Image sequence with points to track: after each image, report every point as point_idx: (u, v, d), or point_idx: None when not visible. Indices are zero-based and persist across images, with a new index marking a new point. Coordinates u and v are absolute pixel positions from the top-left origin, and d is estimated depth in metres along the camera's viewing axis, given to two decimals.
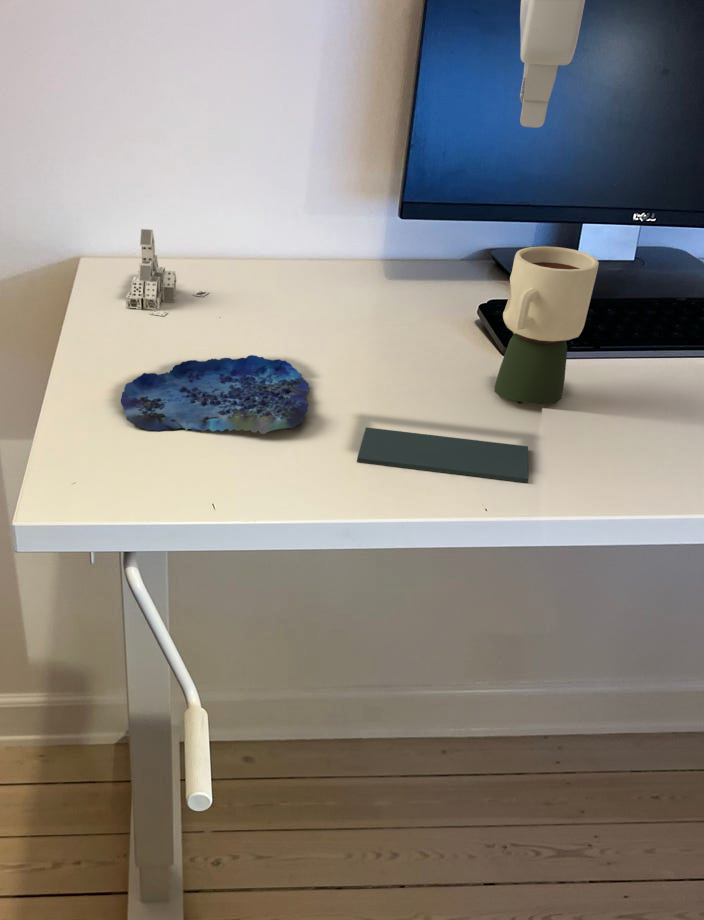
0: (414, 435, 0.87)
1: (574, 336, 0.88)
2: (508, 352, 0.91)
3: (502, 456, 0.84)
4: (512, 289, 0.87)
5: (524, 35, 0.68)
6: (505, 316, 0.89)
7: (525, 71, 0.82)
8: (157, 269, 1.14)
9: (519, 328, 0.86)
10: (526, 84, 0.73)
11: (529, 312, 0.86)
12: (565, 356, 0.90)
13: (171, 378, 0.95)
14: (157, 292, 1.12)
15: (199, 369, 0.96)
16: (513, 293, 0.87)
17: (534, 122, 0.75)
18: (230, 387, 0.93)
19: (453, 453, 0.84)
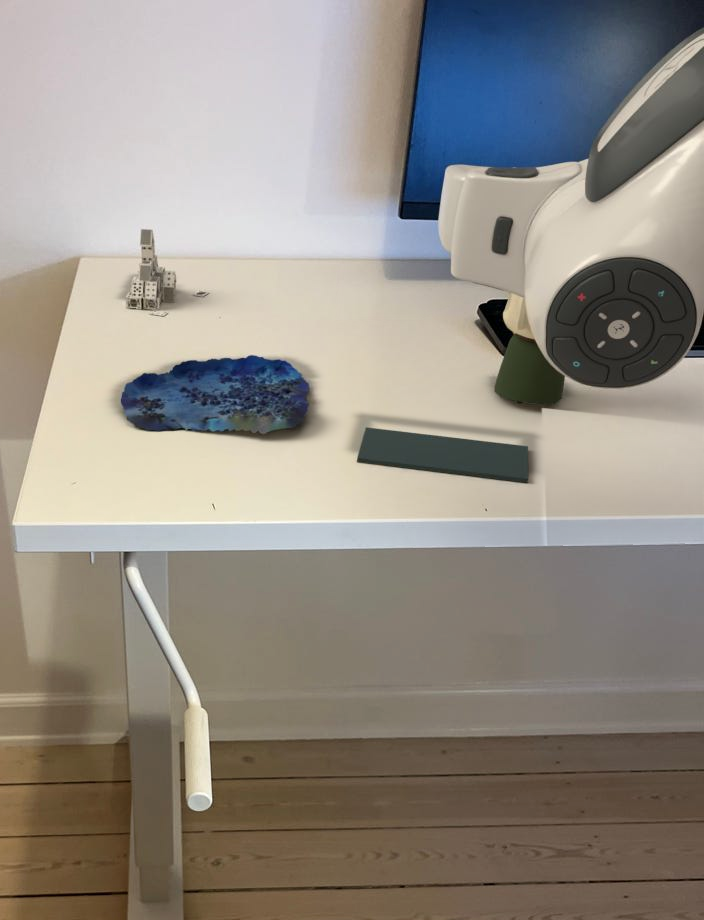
0: (414, 435, 0.87)
1: None
2: (508, 352, 0.91)
3: (502, 456, 0.84)
4: None
5: None
6: (505, 316, 0.89)
7: None
8: (157, 269, 1.14)
9: (519, 328, 0.86)
10: None
11: None
12: None
13: (171, 378, 0.95)
14: (157, 292, 1.12)
15: (199, 369, 0.96)
16: None
17: None
18: (230, 387, 0.93)
19: (453, 453, 0.84)
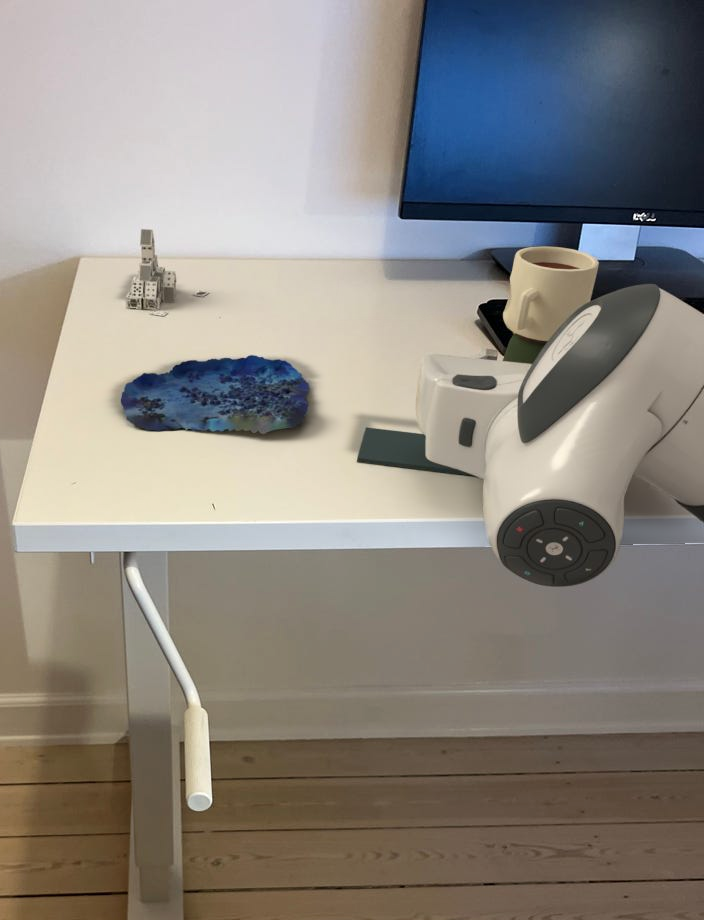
0: (414, 435, 0.87)
1: None
2: (508, 352, 0.91)
3: None
4: (512, 289, 0.87)
5: None
6: (505, 316, 0.89)
7: None
8: (157, 269, 1.14)
9: (519, 328, 0.86)
10: None
11: (529, 312, 0.86)
12: None
13: (171, 378, 0.95)
14: (157, 292, 1.12)
15: (199, 369, 0.96)
16: (513, 293, 0.87)
17: None
18: (230, 387, 0.93)
19: None
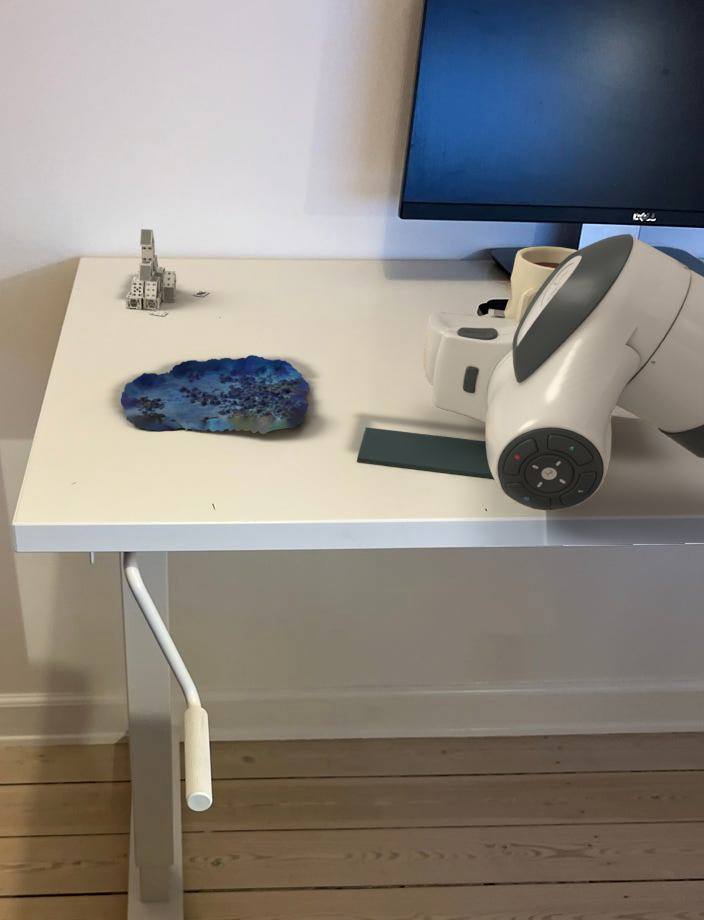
0: (414, 435, 0.87)
1: None
2: None
3: None
4: (513, 289, 0.87)
5: None
6: (506, 316, 0.89)
7: None
8: (157, 269, 1.14)
9: None
10: None
11: None
12: None
13: (171, 378, 0.95)
14: (157, 292, 1.12)
15: (199, 369, 0.96)
16: (514, 293, 0.87)
17: None
18: (230, 387, 0.93)
19: (453, 453, 0.84)
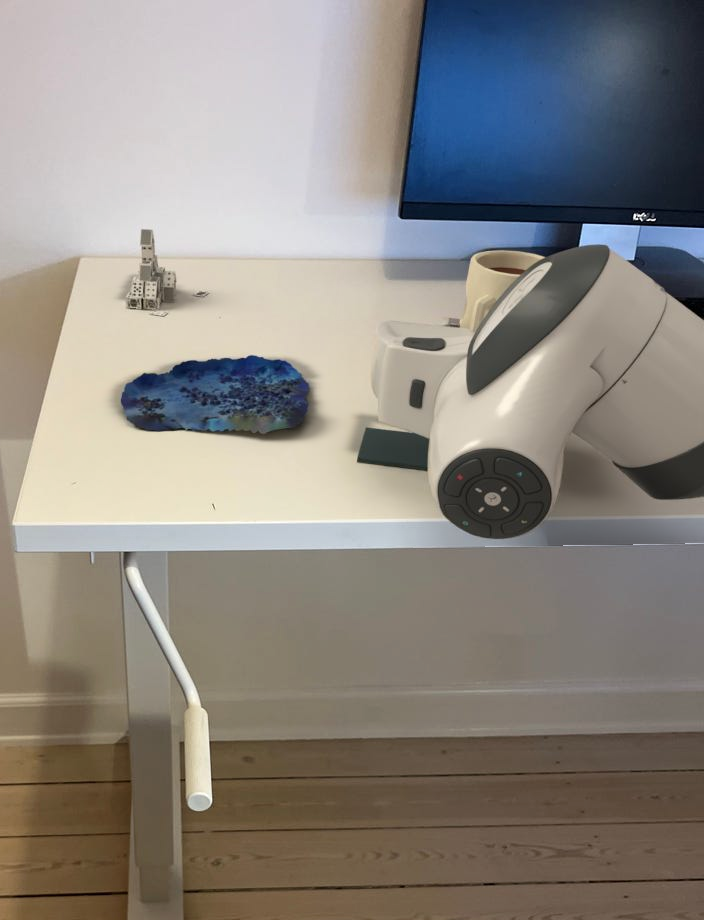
0: (414, 435, 0.87)
1: None
2: None
3: None
4: (467, 296, 0.81)
5: None
6: (461, 325, 0.83)
7: None
8: (157, 269, 1.14)
9: None
10: None
11: None
12: None
13: (171, 378, 0.95)
14: (157, 292, 1.12)
15: (199, 369, 0.96)
16: (468, 300, 0.81)
17: None
18: (230, 387, 0.93)
19: None
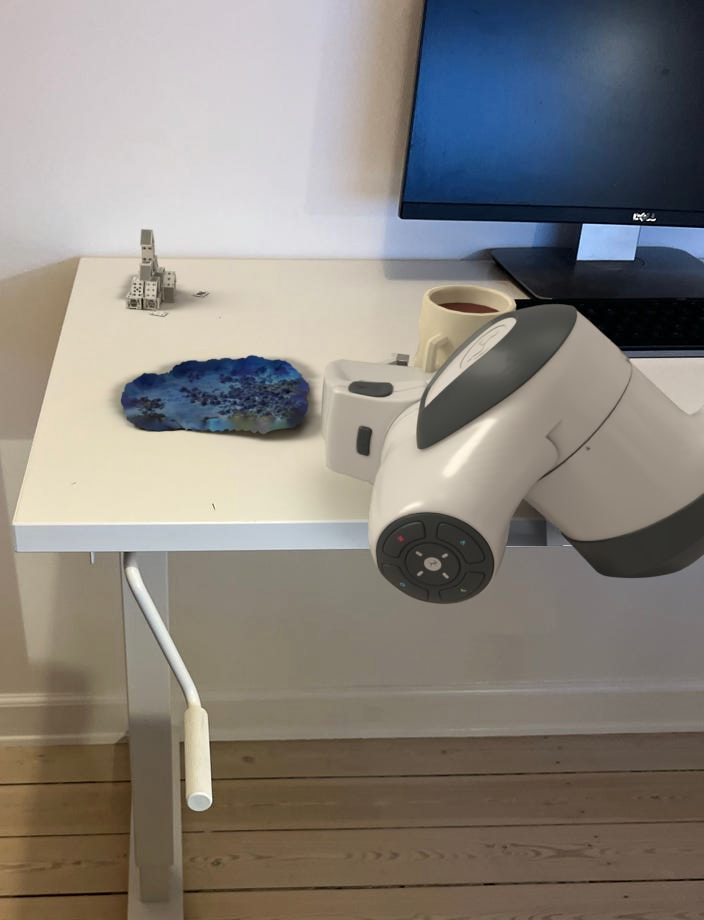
0: None
1: None
2: None
3: None
4: (420, 334, 0.77)
5: None
6: (414, 363, 0.79)
7: None
8: (157, 269, 1.14)
9: None
10: None
11: (438, 360, 0.76)
12: None
13: (171, 378, 0.95)
14: (157, 292, 1.12)
15: (199, 369, 0.96)
16: (421, 338, 0.77)
17: None
18: (230, 387, 0.93)
19: None
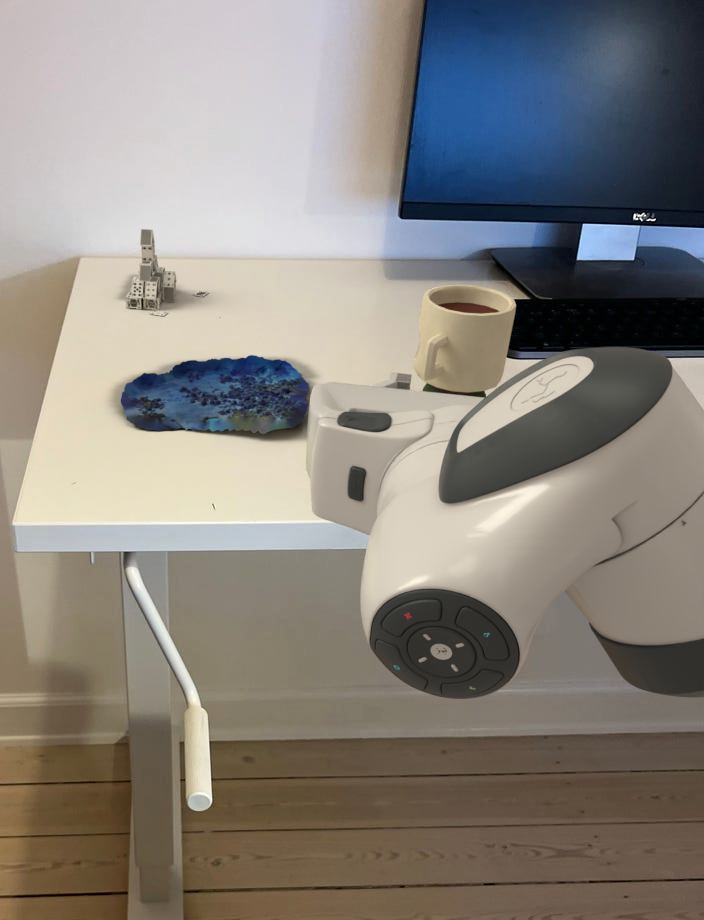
0: None
1: (491, 386, 0.78)
2: None
3: None
4: (420, 334, 0.77)
5: None
6: (415, 363, 0.79)
7: None
8: (157, 269, 1.14)
9: (426, 379, 0.76)
10: None
11: (438, 360, 0.76)
12: None
13: (171, 378, 0.95)
14: (157, 292, 1.12)
15: (199, 369, 0.96)
16: (421, 338, 0.77)
17: None
18: (230, 387, 0.93)
19: None
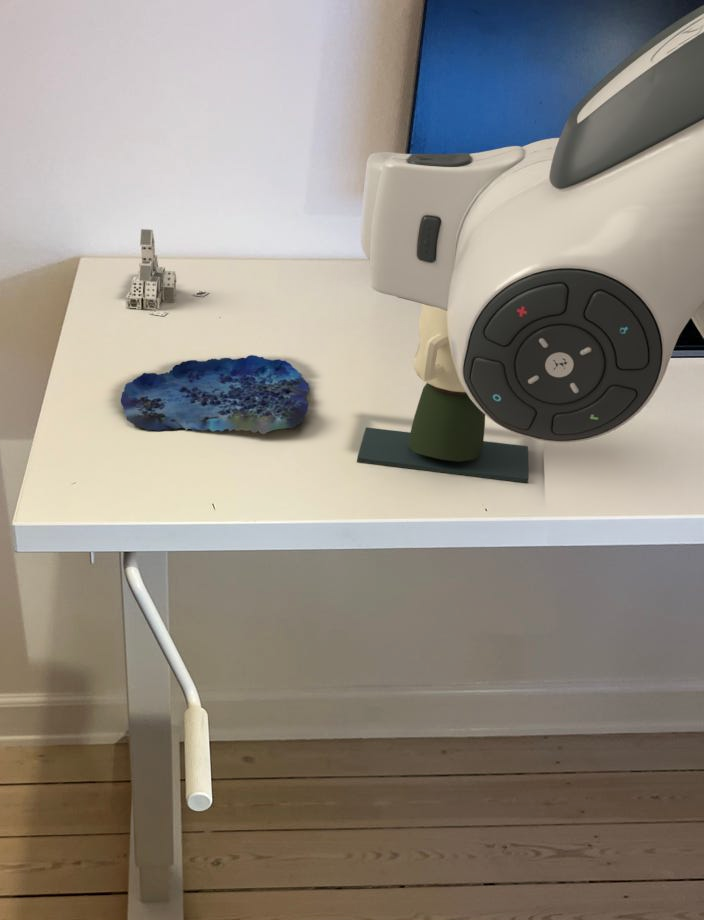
0: None
1: None
2: (420, 402, 0.81)
3: (502, 456, 0.84)
4: (420, 334, 0.77)
5: None
6: (415, 363, 0.79)
7: None
8: (157, 269, 1.14)
9: (426, 379, 0.76)
10: None
11: (438, 360, 0.76)
12: None
13: (171, 378, 0.95)
14: (157, 292, 1.12)
15: (199, 369, 0.96)
16: (421, 338, 0.77)
17: None
18: (230, 387, 0.93)
19: None
